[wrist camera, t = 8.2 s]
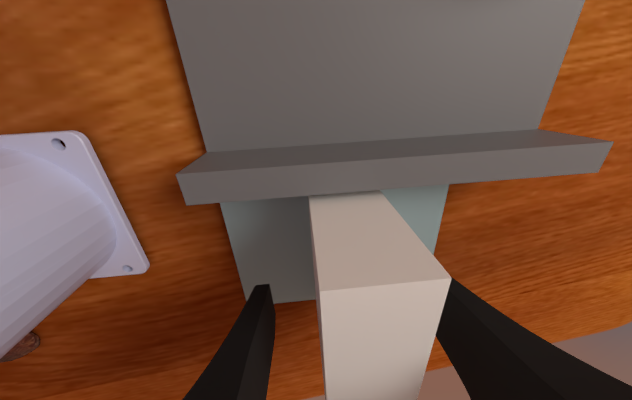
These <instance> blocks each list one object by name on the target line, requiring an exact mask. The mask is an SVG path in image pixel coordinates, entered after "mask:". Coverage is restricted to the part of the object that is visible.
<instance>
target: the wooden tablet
mask: <svg viewBox="0 0 632 400" xmlns="http://www.w3.org/2000/svg"><path fill="white" fill-rule="evenodd" d="M39 345H40V338H39V336H37V335H36V334H34V333H32V332H29V333H28V334H27V335H26V336H25V337H24V338H23V339H21V340H20V341H19V342H18V343H17V344H16V345H15V346H14V347H13V348H12V349H10V350H9V351H8V352H7V353H6V354H5V355H4V356H3V357H2V358H1V359H0V363H1V362H6V361H12V360H14V359H17V358H20V357H22V356H24V355H26V354H28V353H29V352H31V351H33V350H34V349H36V348H37V347H38V346H39Z"/></svg>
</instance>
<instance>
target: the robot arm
mask: <svg viewBox="0 0 632 400" xmlns="http://www.w3.org/2000/svg"><path fill="white" fill-rule="evenodd" d="M60 140H62V141H63V142H64V143H65V146H66V147H64V146H63V145H62V144H61V142H60ZM130 266H131V267H130ZM149 266H150V263H149V261H148V259H147V257H146V255H145V253H144V251H143V249H142V247H141V245H140V243H139V241H138V239H137V237H136V235H135V233H134V231H133V229H132V226H131V224H130V222H129V220H128V218H127V216H126V214H125V212H124V210H123V208H122V206H121V204H120V202H119V200H118V198H117V196H116V194H115V192H114V190H113V188H112V186H111V184H110V182H109V180H108V178H107V176H106V174H105V172H104V170H103V168H102V166H101V163H100V161H99V159H98V157H97V155H96V153H95V151H94V149H93V147H92V145H91V143H90V141H89V140H88V138H87V137H86V136H85V135H84V134H82V133H80V132H78V131H73V130H69V131H53V132H38V133H22V134H7V135H0V359H1V358H2V357H3V356H4V355H5V354H6V353H7V352H8V351H9V350H10V349H12V348H13V347H14V346H15V345H16V344H17V343H18V342H19V341H20V340H21V339H23V338H24V337H25V336H26V335H27V334H28V333H29V332H30V331H31V330H32V329H34V328H35V327H36V326H37V325H38V324H39V323H40V322H41V321H42V320H43V319H45V318H46V317H47V316H48V315H49V314H50V313H51V312H52V311H53V310H54V309H56V308H57V307H58V306H59V305H60V304H61V303H62V302H63V301H64V300H65V299H67V298H68V297H69V296H70V295H71V294H72V293H73V292H74V291H75V290H76V289H78V288H79V287H80V286H81V285H82V284H83V283H84V282H85V281H86V280H87V279H90V278H101V277H112V276H123V275H133V274H142V273H145V272H146V271H147V270H148V268H149ZM451 278H452V277H451ZM275 315H276V314H275V309H274V304H273V299H272V294H271V289H270V284H262V285H256V286H255V287H254V288H253V290H252V292H251V294H250V296H249V298H248V300H247V302H246V304H245V306H244V308H243V310H242V312H241V313H240V315H239V317H238V319H237V320H236V322H235V324H234V326H233V327H232V329H231V331H230V332H229V334H228V336H227V337H226V339H225V340H224V342H223V343H222V345H221V347H220V348H219V350H218V351H217V353H216V354H215V356H214V357H213V359H212V360H211V362H210V363H209V365H208V366H207V367H206V369H205V370H204V372H203V373H202V374H201V376H200V377H199V379H198V380H197V381H196V383H195V384H194V385H193V387H192V388H191V389H190V391H189V392H188V393H187V394H186V396H185V397H184V398H183V400H266V395H267V388H268V381H269V374H270V367H271V360H272V353H273V346H274V339H275ZM436 337H437V339H438V340H439V342H440V344H441V346H442V347H443V349H444V351H445V352H446V354H447V356H448V358H449V359H450V361H451V363H452V364H453V366H454V368H455V369H456V371H457V373H458V375H459V377H460V378H461V380H462V382H463V384H464V386H465V388H466V390H467V392H468V394H469V396H470V398H471V400H632V386H630V385H628V384H626V383H624V382H622V381H620V380H618V379H616V378H614V377H612V376H610V375H608V374H606V373H604V372H602V371H600V370H598V369H596V368H594V367H592V366H591V365H589V364H587V363H585V362H583V361H581V360H579V359H577V358H576V357H574V356H572V355H570V354H568V353H566V352H565V351H563V350H561V349H559V348H557V347H555V346H554V345H552V344H551V343H549V342H547V341H546V340H544V339H542V338H540V337H539V336H537V335H535V334H534V333H532V332H530V331H529V330H527V329H526V328H524V327H522V326H521V325H519V324H518V323H516V322H515V321H513V320H512V319H510V318H509V317H507V316H505V315H504V314H502V313H501V312H499V311H498V310H497V309H495V308H494V307H492V306H491V305H489V304H488V303H486V302H485V301H484V300H482V299H481V298H479V297H478V296H477V295H475V294H474V293H472V292H471V291H470V290H468V289H467V288H466V287H464V286H463V285H461V284H460V283H459V282H457V281H456V280H455V279H453V278H452V279H451V283H450V286H449V290H448V293H447V297H446V300H445V304H444V307H443V311H442V314H441V317H440V321H439V324H438V328H437V331H436Z"/></svg>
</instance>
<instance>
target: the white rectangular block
mask: <svg viewBox="0 0 632 400" xmlns="http://www.w3.org/2000/svg"><path fill="white" fill-rule="evenodd" d="M308 201H309V214H310V227H311V241H312V254H313V267H314V280H315V293H316V304H317V315H318V325H319V336H320V347H321V358H322V368H323V379H324V390H325V400H417V397H418V394H419V390H420V387H421V383H422V380H423V376H424V373H425V370H426V366H427V363H428V359H429V356H430V352H431V349H432V345H433V342H434V338H435V335H436V331H437V328H438V324H439V321H440V317H441V314H442V311H443V307H444V304H445V300H446V297H447V293H448V290H449V286H450V283H451V279H452V278H451V276H450V275H449V274H448V273H447V272H446V270H445V269H444V268H443V267H442V266H441V264H440V263H439V262H438V261H437V259H436V258H435V257H434V256H433V255H432V253H431V252H430V251H429V250H428V248H427V247H426V246H425V245H424V244H423V242H422V241H421V240H420V239H419V238H418V236H417V235H416V234H415V233H414V231H413V230H412V229H411V228H410V227H409V225H408V224H407V223H406V222H405V221H404V219H403V218H402V217H401V216H400V214H399V213H398V212H397V211H396V210H395V208H394V207H393V206H392V205H391V203H390V202H389V201H388V200H387V199H386V197H385V196H384V195H383V194H382V193H381V191H380V190H372V191H359V192H347V193H334V194H322V195H310V196H308Z"/></svg>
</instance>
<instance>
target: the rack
mask: <svg viewBox="0 0 632 400" xmlns="http://www.w3.org/2000/svg"><path fill="white" fill-rule="evenodd" d="M584 2H585V0H166V3H167V6H168V10H169V14H170V17H171V21H172V25H173V29H174V32H175V36H176V40H177V43H178V47H179V51H180V55H181V58H182V62H183V66H184V69H185V73H186V77H187V80H188V84H189V88H190V92H191V95H192V99H193V103H194V106H195V110H196V114H197V118H198V121H199V125H200V129H201V132H202V136H203V140H204V143H205V147H206V151H207V153H205V154H204V155H202V156H201V157H200V158H198V159H197V160H195V161H194V162H192V163H191V164H190V165H188V166H187V167H185V168H184V169H183V170H181V171H180V172H178V173H177V174H176V177H177V180H178V182H179V185H180V188H181V191H182V194H183V197H184V200H185V203H186V205H198V204H210V203H223V202H235V201H247V200H260V199H272V198H285V197H297V196H310V195H322V194H334V193H347V192H359V191H372V190H384V189H396V188H409V187H421V186H434V185H446V184H459V183H471V182H483V181H496V180H508V179H521V178H533V177H545V176H558V175H570V174H583V173H595V172H598V171H599V169H600V167H601V166H602V164H603V162H604V160H605V158H606V156H607V154H608V152H609V150H610V148H611V147H612V145H613V143H614V142H612V141H606V140H600V139H594V138H588V137H582V136H576V135H570V134H564V133H558V132H552V131H546V130H540V129H538V126H539V124H540V121H541V118H542V115H543V113H544V110H545V107H546V105H547V102H548V99H549V96H550V94H551V91H552V88H553V86H554V83H555V80H556V78H557V75H558V72H559V69H560V67H561V64H562V61H563V59H564V56H565V53H566V50H567V48H568V45H569V42H570V40H571V37H572V34H573V32H574V29H575V26H576V23H577V21H578V18H579V15H580V13H581V10H582V7H583V4H584Z"/></svg>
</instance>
